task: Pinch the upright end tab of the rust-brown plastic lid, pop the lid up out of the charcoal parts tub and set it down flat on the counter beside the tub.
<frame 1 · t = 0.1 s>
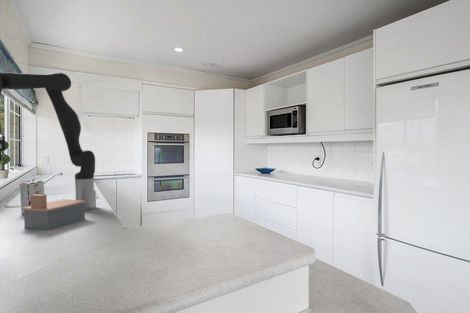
tub: (56, 223, 120), on the worktop
lid: (55, 209, 120), point 6 cm above the worktop, touching tub
candy bar box: (33, 211, 145), on the worktop
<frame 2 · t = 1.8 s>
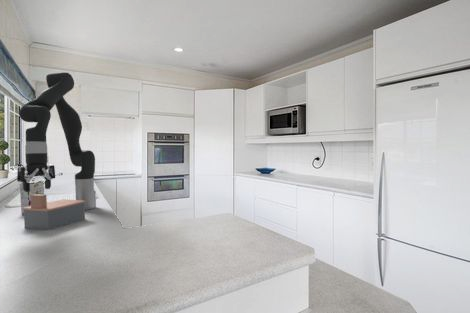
hand: (37, 190, 112), 16 cm above the worktop, fingers open, 8 cm apart
nothing on the worktop moved.
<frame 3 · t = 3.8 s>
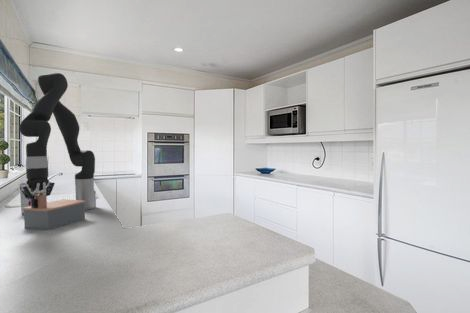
hand: (38, 207, 112), 9 cm above the worktop, fingers closed on lid, 2 cm apart
lid: (55, 209, 120), point 6 cm above the worktop, touching gripper, tub
everything else where it was.
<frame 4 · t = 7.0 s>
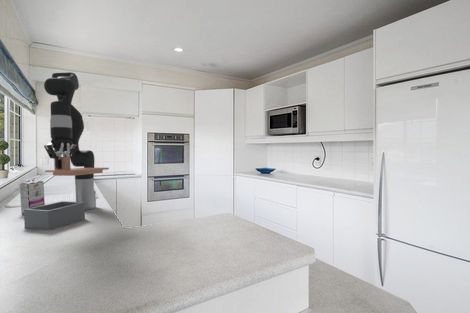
hand: (62, 168, 109), 26 cm above the worktop, fingers closed on lid, 2 cm apart
lid: (78, 174, 116), point 23 cm above the worktop, touching gripper
everything else where it was.
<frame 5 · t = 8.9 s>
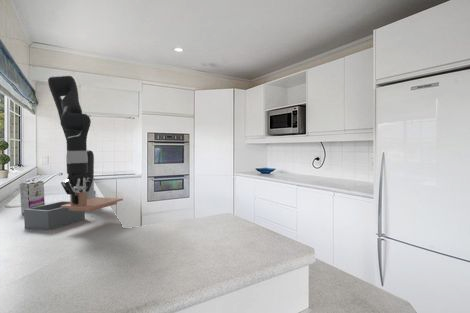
hand: (78, 203, 108), 11 cm above the worktop, fingers closed on lid, 2 cm apart
lid: (93, 206, 116), point 8 cm above the worktop, touching gripper
everything else where it was.
when the fingers open (5 cm above the worktop, at t = 10.3 s): lid drops 2 cm, on the worktop.
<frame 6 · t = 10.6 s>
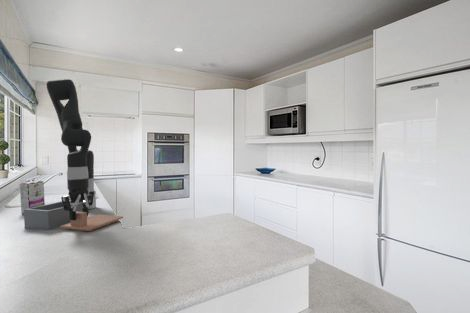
hand: (79, 218, 108), 5 cm above the worktop, fingers open, 5 cm apart
lid: (94, 225, 116), on the worktop
everything else where it was.
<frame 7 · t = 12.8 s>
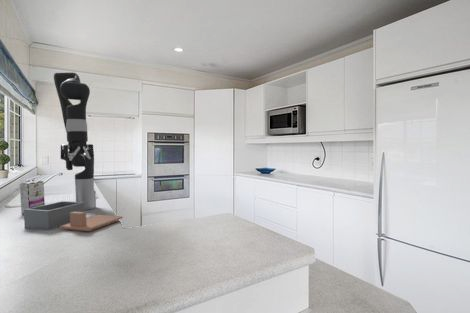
hand: (78, 168, 111), 25 cm above the worktop, fingers open, 8 cm apart
nothing on the worktop moved.
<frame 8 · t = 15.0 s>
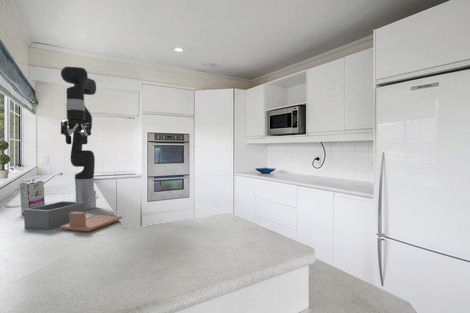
hand: (77, 144, 124), 36 cm above the worktop, fingers open, 8 cm apart
nothing on the worktop moved.
at the end: lid inside the target area (0.8 cm from its centre), on the worktop; lid touching worktop; the gripper is holding nothing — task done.
